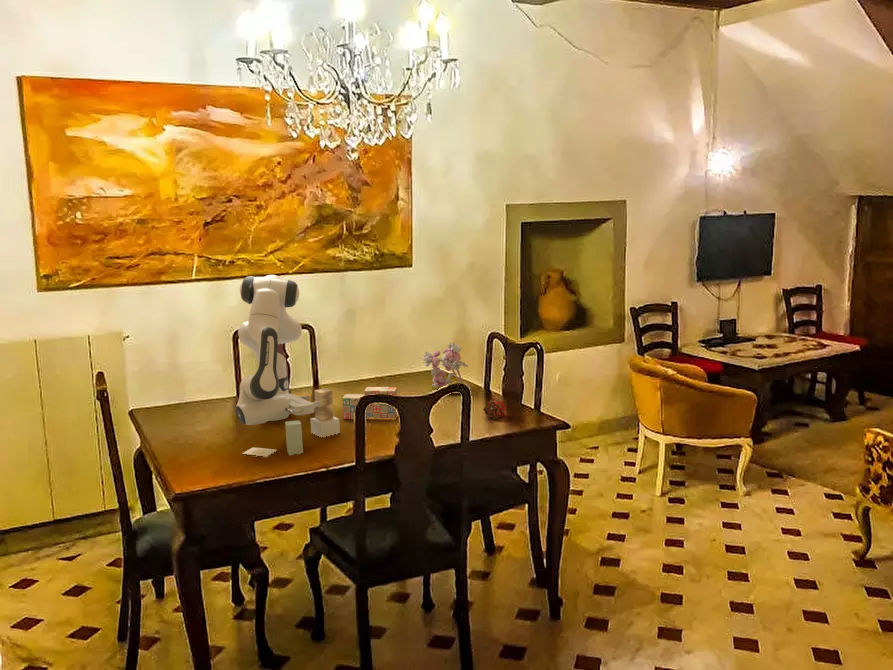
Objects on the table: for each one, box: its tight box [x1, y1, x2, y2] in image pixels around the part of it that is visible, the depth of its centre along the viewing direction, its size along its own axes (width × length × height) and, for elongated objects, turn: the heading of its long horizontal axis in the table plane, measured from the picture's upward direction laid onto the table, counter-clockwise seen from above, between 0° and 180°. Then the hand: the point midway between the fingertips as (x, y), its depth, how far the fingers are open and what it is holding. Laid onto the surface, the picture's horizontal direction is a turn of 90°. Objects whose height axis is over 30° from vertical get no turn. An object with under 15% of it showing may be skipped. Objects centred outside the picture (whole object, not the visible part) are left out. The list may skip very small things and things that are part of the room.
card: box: [241, 446, 278, 458], centre depth 306 cm, size 10×7×1 cm
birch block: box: [314, 387, 334, 421], centre depth 325 cm, size 5×5×11 cm
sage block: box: [285, 419, 304, 456], centre depth 305 cm, size 5×5×11 cm
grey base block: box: [310, 415, 341, 439], centre depth 327 cm, size 8×8×6 cm
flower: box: [419, 341, 469, 389], centre depth 382 cm, size 20×22×25 cm
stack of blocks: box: [341, 386, 398, 421], centre depth 345 cm, size 21×6×12 cm, turn 84°
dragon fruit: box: [483, 397, 507, 420], centre depth 341 cm, size 8×8×12 cm
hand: (314, 400), depth 322 cm, fingers open, 8 cm apart
